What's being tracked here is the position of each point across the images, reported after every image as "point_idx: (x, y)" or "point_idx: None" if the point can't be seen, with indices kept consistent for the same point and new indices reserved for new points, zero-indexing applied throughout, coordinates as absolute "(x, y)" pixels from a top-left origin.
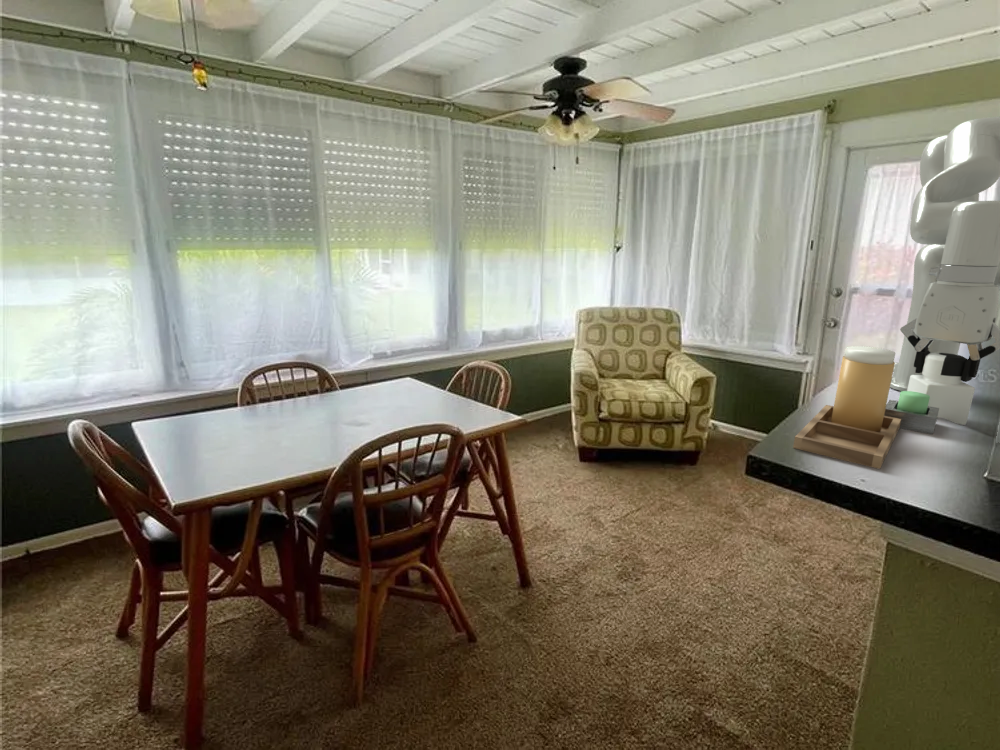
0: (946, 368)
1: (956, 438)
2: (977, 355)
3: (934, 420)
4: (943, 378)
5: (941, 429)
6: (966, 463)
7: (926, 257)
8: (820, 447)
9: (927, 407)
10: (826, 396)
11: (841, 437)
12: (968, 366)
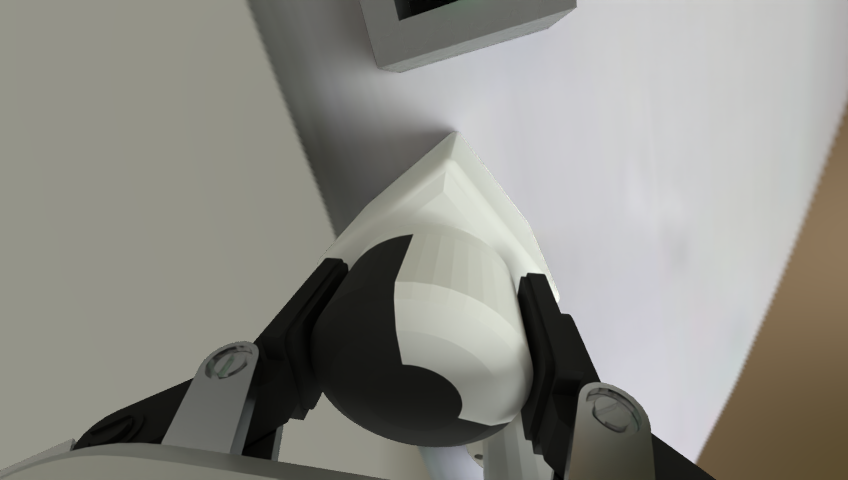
0: (384, 259)
1: (327, 35)
2: (213, 376)
3: None
4: (401, 228)
5: (390, 104)
6: None
7: None
8: None
9: (409, 24)
10: (803, 183)
11: None
12: (289, 305)
